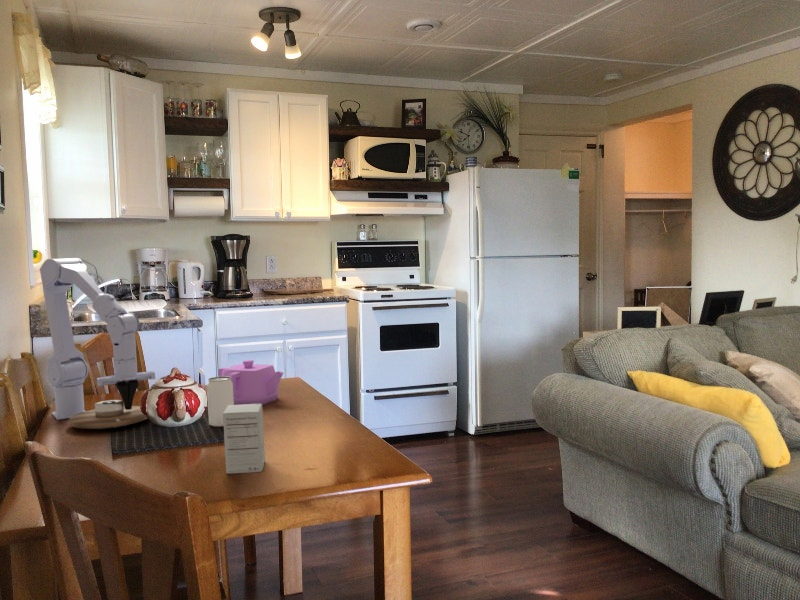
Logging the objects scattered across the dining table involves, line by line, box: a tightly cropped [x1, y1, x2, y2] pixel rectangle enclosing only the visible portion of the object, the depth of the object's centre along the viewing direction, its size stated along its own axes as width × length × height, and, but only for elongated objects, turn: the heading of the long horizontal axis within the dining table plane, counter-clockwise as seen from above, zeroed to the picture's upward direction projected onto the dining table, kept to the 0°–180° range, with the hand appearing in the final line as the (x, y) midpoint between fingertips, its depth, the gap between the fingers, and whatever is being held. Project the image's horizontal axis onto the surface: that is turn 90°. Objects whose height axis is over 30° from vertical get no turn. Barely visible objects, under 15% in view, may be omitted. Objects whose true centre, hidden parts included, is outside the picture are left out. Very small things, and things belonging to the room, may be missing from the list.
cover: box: [94, 399, 124, 418], centre depth 187 cm, size 7×7×3 cm
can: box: [206, 376, 234, 428], centre depth 184 cm, size 6×6×12 cm
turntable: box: [68, 405, 148, 430], centre depth 188 cm, size 20×20×1 cm
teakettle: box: [217, 359, 284, 406], centre depth 210 cm, size 17×17×12 cm
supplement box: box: [223, 404, 266, 474], centre depth 146 cm, size 7×7×13 cm
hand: (128, 408), depth 190 cm, fingers closed
